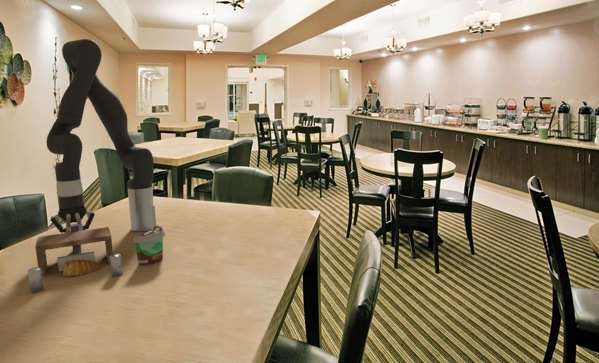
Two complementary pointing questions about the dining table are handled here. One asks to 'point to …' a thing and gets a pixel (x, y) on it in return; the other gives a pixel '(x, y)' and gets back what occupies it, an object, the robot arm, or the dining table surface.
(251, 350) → the dining table surface
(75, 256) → the scraper
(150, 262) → the food container
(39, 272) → the goal posts
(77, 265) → the pastry
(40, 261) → the low shelf
